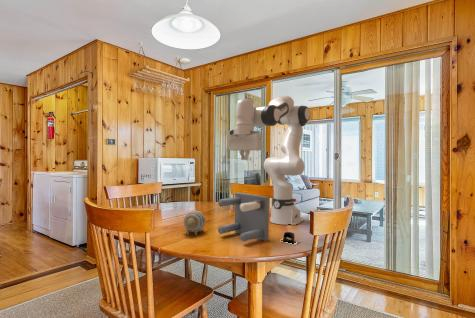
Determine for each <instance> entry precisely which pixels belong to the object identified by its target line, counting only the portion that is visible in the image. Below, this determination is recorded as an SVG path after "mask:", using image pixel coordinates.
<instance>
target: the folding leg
mask: <svg viewBox="0 0 475 318" xmlns="http://www.w3.org/2000/svg"><path fill="white" fill-rule="evenodd" d="M240 210H241V211H242V212H244V211H249V210H256V211H259V210H261V200H254V202H249V203H242V204H241V205H240Z"/></svg>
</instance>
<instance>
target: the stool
mask: <svg viewBox="0 0 475 318" xmlns="http://www.w3.org/2000/svg"><path fill="white" fill-rule="evenodd" d="M254 200H261V210H259V211H256V210H249V211H244V212H242V211H241V210H240V205H241V204H242V203H249V202H254ZM218 206H219V207H221V208H222V207H228V206H234V223H230V224H225V225H220V226H218V228H217V232H218V233H219V234H220V235H223V234H226V233H231V232H235V233H238V234H240V240H241V241H242V242H247V241H249V240H253V239H258V240H261V241H264V242H266V241H269V229H270V228H269V227H270V226H269V225H270V223H269V221H270V197H269V196H263V195H257V194H252V193H251V194H250V193H245V192H244V193H242V192H235V193H234V197H229V198H221V199H218Z"/></svg>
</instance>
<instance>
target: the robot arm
mask: <svg viewBox="0 0 475 318" xmlns="http://www.w3.org/2000/svg"><path fill="white" fill-rule="evenodd" d="M294 101H295V100H294V99H293V98H292V96H289V95H282V96H278V97H274V98H273V99H271V100H270V101H269V103H268V105H266V106H265V105H264V106H259V107H258V106H256V105H255V103H254V99H253V98H250V97H245V98H240V99H238V100H237V103H236V106H235V107H236V109H235V117H236V123H235V127H234V128H233V129H231V130H229V131H228V132H227V133H228V139H227V148H228V150H229V151H233V152H234V151H238V152H239V155H240V160H242V161H248V160H249V156H250V153H251V151H262V150H263V138H262V132H261V131H260V130H255V127H274V126H276V125H277V124H278V125H283V126H284V125H287V128H286V129H285V132H284V134H283V137H282V139H281V143H280V150H281V152H282V153H284V154H285V155H284V156H270V157H267V158H266V159H265V160H264V162H263V169H264V171H265V173H267V175H269V177H270V179H271V182H272V186H273V188H272V189H273V197H272V206H271V211H270V216H269V221H270V223H272V224H277V225H287V226H288V224H291V226H292V225H293V226H294V225H295V226H297V225H298V224H300V223H302V222H304V221H305V218H304V217H301V211H300V209H299V208H298V207H296V205H295V203H297V198H293V185H292V184H291V183H290V182H289V181H287V179H286V176H290V177H292V176H300V175H302V174H303V173H304V170H305V168H306V167H305V162H304V160H303V159H302V158H301V157H300V155H299V150H300V145H301V142H302V139H303V133H304V132H303V127H304V126H306V124H307V123H308V122H309V120H310V117H311V111H310V108H309V107H308V106H307V105H295V102H294ZM303 220H304V221H303ZM301 221H302V222H301ZM296 224H297V225H296Z"/></svg>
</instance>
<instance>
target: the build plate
mask: <svg viewBox="0 0 475 318" xmlns="http://www.w3.org/2000/svg"><path fill="white" fill-rule="evenodd" d="M295 237H296V236H295V233H294V232H290V231H286V232H284V233H283V240H281V241H283V242H288V243H292V244H294V243H296V240H295ZM283 242H282V243H283ZM288 243H287V244H288ZM292 244H291V245H292Z"/></svg>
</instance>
